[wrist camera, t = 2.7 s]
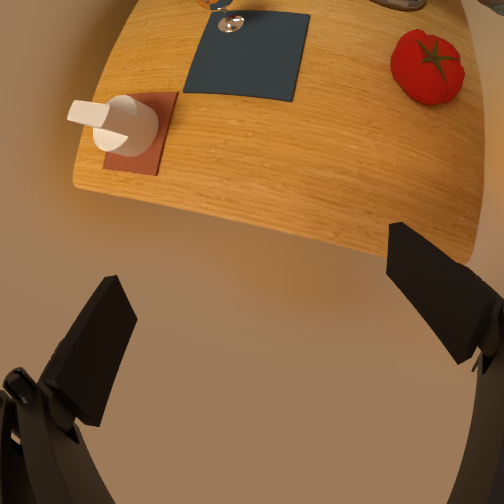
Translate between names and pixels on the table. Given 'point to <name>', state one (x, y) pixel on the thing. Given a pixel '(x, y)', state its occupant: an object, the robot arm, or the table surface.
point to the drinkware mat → (250, 56)
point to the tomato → (427, 67)
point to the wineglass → (228, 23)
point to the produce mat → (152, 155)
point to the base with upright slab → (118, 124)
